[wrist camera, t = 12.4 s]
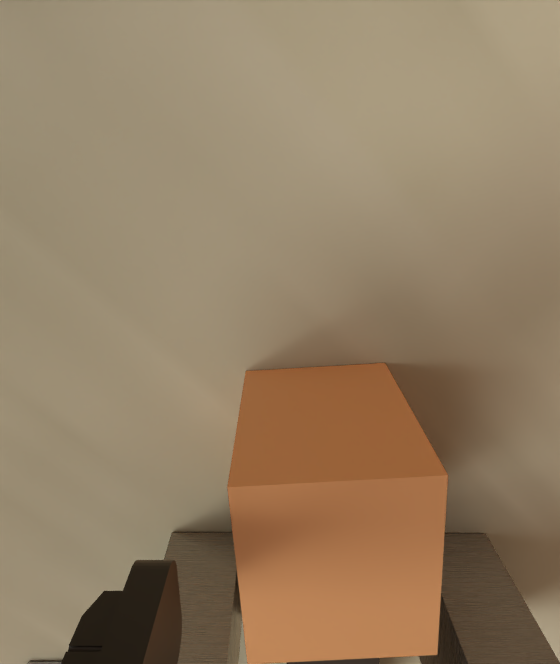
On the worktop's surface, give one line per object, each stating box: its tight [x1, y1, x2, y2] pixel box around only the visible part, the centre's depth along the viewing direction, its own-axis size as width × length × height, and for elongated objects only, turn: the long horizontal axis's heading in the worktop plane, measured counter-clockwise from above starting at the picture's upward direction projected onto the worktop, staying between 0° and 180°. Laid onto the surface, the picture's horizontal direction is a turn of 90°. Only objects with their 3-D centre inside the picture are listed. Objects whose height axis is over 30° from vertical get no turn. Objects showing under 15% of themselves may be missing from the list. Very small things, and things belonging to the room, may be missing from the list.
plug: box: [227, 363, 448, 664], centre depth 15 cm, size 4×14×6 cm, turn 3°
